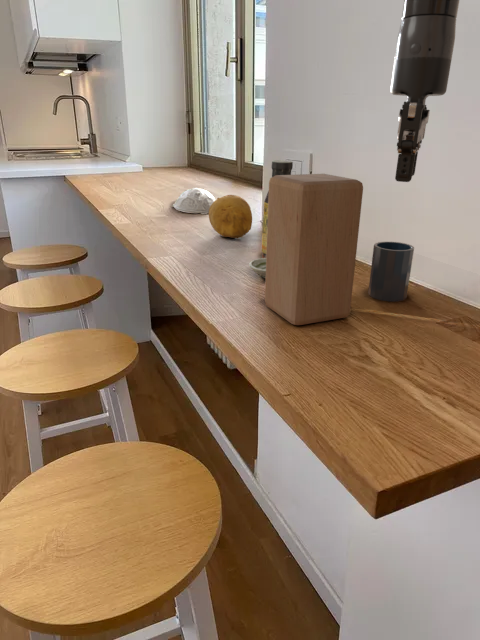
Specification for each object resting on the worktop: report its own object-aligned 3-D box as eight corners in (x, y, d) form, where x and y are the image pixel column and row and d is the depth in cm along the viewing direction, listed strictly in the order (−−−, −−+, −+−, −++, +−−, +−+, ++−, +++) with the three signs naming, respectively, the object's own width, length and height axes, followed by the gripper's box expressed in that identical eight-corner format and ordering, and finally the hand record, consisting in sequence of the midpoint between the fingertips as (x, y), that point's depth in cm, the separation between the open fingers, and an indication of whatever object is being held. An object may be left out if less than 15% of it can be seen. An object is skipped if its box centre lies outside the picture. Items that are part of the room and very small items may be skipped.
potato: (223, 243, 116) (223, 200, 113) (202, 232, 127) (202, 192, 123) (261, 239, 121) (262, 197, 117) (238, 229, 131) (239, 190, 127)
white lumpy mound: (217, 199, 174) (215, 179, 171) (223, 216, 151) (221, 194, 148) (173, 204, 173) (170, 184, 170) (173, 221, 150) (170, 199, 147)
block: (293, 328, 70) (302, 182, 62) (262, 305, 78) (266, 174, 71) (352, 318, 74) (367, 180, 66) (316, 297, 82) (325, 172, 74)
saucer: (286, 266, 99) (286, 254, 98) (309, 280, 90) (310, 268, 90) (241, 271, 96) (241, 259, 95) (261, 286, 87) (261, 273, 86)
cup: (407, 296, 83) (415, 243, 80) (404, 307, 78) (413, 252, 75) (370, 291, 85) (376, 240, 82) (365, 302, 80) (371, 248, 77)
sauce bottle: (256, 257, 105) (259, 159, 98) (282, 254, 107) (287, 159, 100) (269, 265, 100) (273, 162, 92) (297, 262, 102) (303, 161, 94)
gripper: (452, 50, 61) (430, 185, 67) (451, 62, 73) (432, 175, 79) (389, 51, 63) (373, 182, 70) (398, 62, 76) (384, 172, 82)
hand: (404, 178), depth 74 cm, fingers open, 8 cm apart
